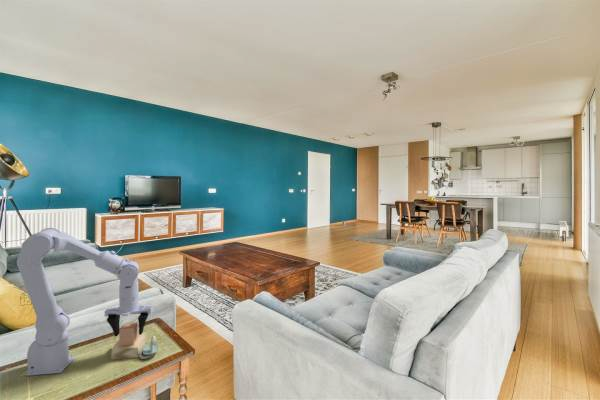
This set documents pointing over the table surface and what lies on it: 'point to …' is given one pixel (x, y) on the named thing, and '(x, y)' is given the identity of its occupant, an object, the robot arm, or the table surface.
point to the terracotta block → (128, 333)
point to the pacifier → (149, 349)
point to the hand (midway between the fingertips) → (129, 334)
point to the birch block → (128, 349)
